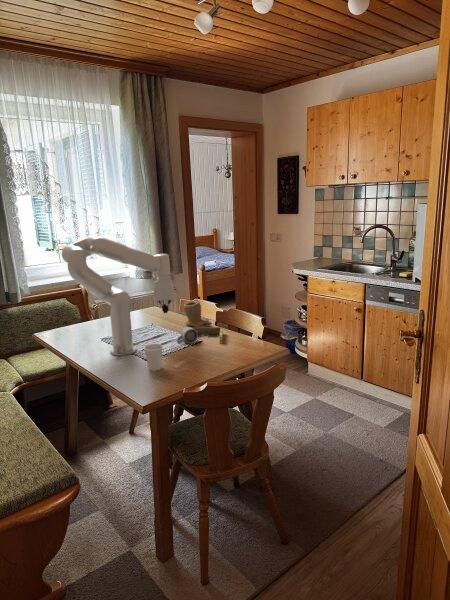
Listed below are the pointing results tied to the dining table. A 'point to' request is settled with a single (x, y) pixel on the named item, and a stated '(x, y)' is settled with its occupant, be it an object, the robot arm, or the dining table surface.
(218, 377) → the dining table surface
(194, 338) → the ceramic mug
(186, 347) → the dining table surface
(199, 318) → the tan boot
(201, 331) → the trap box
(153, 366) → the dixie cup
